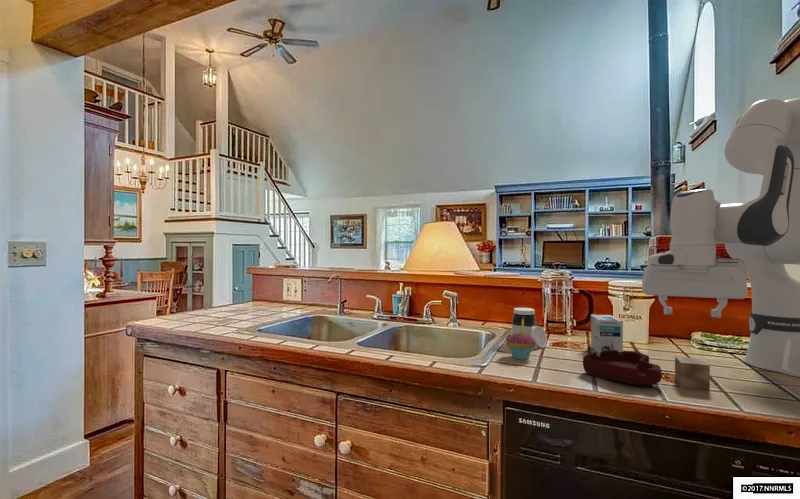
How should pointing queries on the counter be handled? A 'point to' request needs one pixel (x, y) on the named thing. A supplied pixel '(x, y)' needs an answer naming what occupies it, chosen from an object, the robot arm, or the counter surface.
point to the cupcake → (520, 344)
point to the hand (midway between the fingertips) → (691, 315)
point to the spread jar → (528, 325)
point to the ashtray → (623, 367)
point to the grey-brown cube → (692, 373)
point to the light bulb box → (606, 333)
